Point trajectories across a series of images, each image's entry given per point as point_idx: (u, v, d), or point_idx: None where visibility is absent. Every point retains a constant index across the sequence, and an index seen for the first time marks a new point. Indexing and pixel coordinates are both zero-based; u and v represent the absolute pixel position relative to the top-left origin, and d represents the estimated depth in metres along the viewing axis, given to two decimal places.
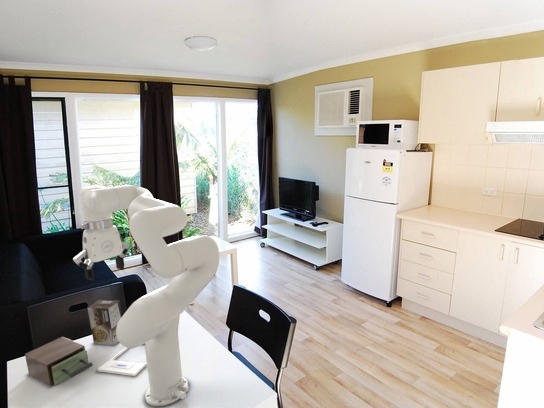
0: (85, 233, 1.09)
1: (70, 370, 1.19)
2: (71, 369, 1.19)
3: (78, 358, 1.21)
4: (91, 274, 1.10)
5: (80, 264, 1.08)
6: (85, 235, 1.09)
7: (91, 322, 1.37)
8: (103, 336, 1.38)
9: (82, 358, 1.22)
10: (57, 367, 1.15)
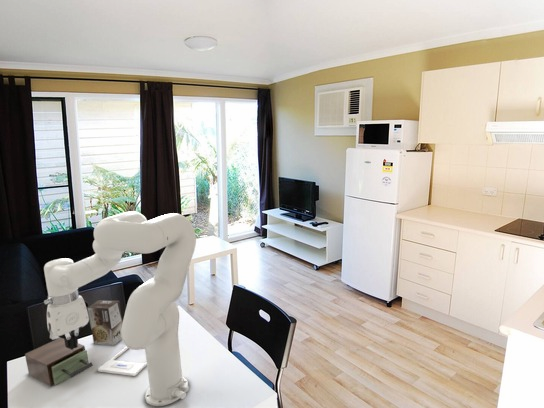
0: (49, 308, 1.09)
1: (70, 370, 1.19)
2: (71, 369, 1.19)
3: (78, 358, 1.21)
4: (71, 344, 1.15)
5: (60, 337, 1.12)
6: (49, 310, 1.09)
7: (91, 322, 1.37)
8: (103, 336, 1.38)
9: (82, 358, 1.22)
10: (57, 367, 1.15)
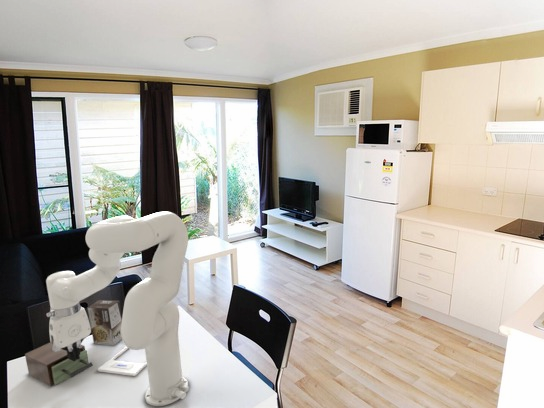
0: (51, 320, 1.10)
1: (70, 370, 1.19)
2: (71, 369, 1.19)
3: None
4: (73, 355, 1.16)
5: (62, 349, 1.13)
6: (51, 322, 1.10)
7: (91, 322, 1.37)
8: (103, 336, 1.38)
9: (82, 358, 1.22)
10: (57, 367, 1.15)
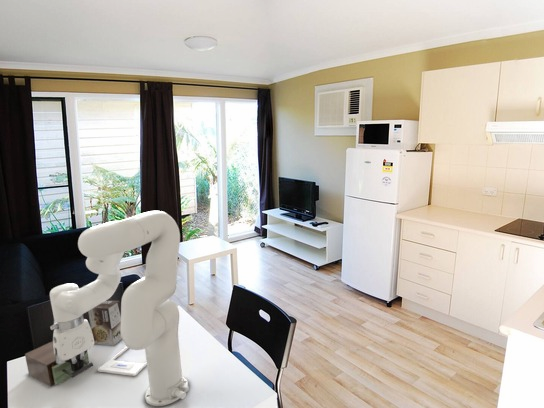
0: (55, 333, 1.10)
1: (71, 370, 1.19)
2: None
3: None
4: (77, 367, 1.16)
5: (66, 361, 1.14)
6: (55, 335, 1.10)
7: (91, 322, 1.37)
8: (103, 336, 1.38)
9: None
10: (58, 367, 1.15)
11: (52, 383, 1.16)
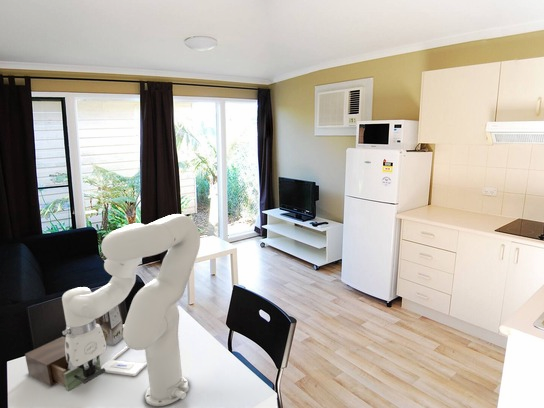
0: (67, 338, 1.08)
1: (82, 376, 1.16)
2: (83, 375, 1.16)
3: None
4: (89, 373, 1.13)
5: (78, 366, 1.11)
6: (67, 340, 1.08)
7: None
8: None
9: None
10: (69, 373, 1.12)
11: (52, 383, 1.16)
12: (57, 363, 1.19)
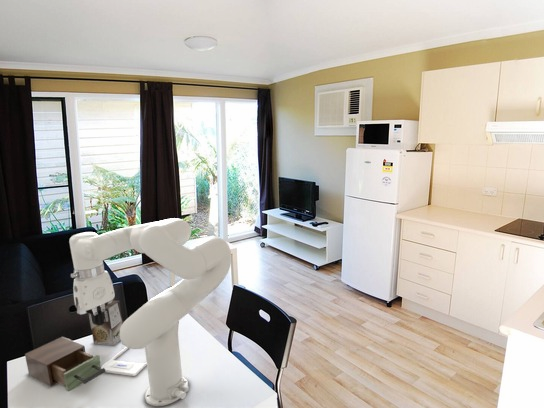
0: (76, 282, 1.07)
1: (82, 376, 1.16)
2: (83, 375, 1.16)
3: (90, 363, 1.18)
4: (98, 319, 1.13)
5: (87, 312, 1.10)
6: (76, 284, 1.07)
7: (91, 322, 1.37)
8: (103, 336, 1.38)
9: (94, 364, 1.19)
10: (69, 373, 1.12)
11: (52, 383, 1.16)
12: (57, 363, 1.19)
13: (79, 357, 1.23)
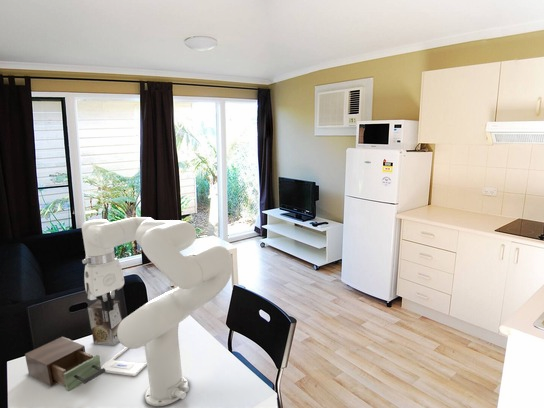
0: (87, 268, 1.08)
1: (82, 376, 1.16)
2: (83, 375, 1.16)
3: (90, 363, 1.18)
4: (107, 306, 1.14)
5: (97, 298, 1.12)
6: (87, 270, 1.08)
7: (91, 322, 1.37)
8: (103, 336, 1.38)
9: (94, 364, 1.19)
10: (69, 373, 1.12)
11: (52, 383, 1.16)
12: (57, 363, 1.19)
13: (79, 357, 1.23)
